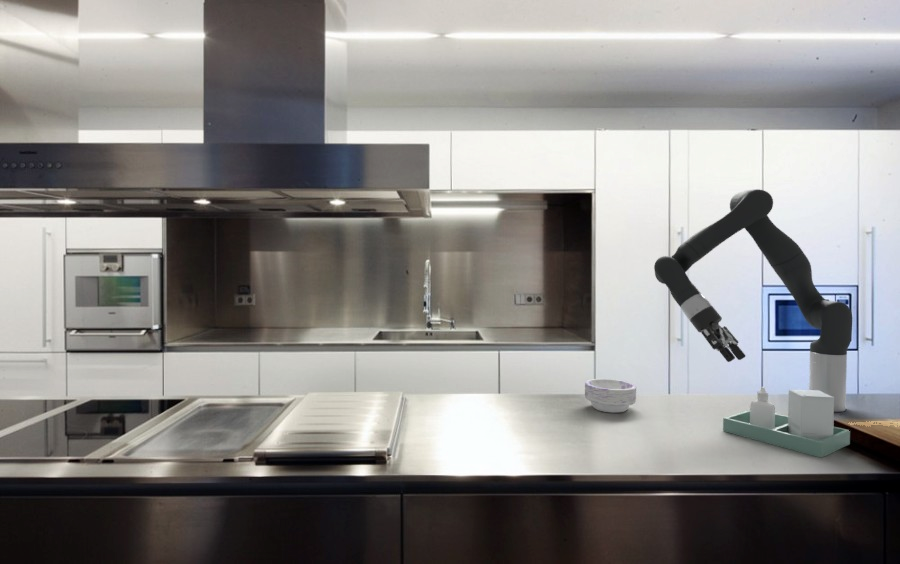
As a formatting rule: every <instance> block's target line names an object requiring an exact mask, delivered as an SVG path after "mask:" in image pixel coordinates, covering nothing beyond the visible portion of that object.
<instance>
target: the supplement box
mask: <svg viewBox="0 0 900 564" xmlns="http://www.w3.org/2000/svg"><path fill="white" fill-rule="evenodd" d="M787 397H788V401H787V403H788V404H787V405H788V406H787V407H788V408H787V416H788V433H789V434H793V435H797V436H801V437H805V438H809V439H813V440H817V441H821V440H823V439H825V438H828V437H830V436H832V435H833V427H835V426H834V424H835V423H834V416H835V415H834V413H835V412H834V397H832V396H830V395H828V394H825V393H823V392H821V391H818V390H809V389H788V396H787Z"/></svg>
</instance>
